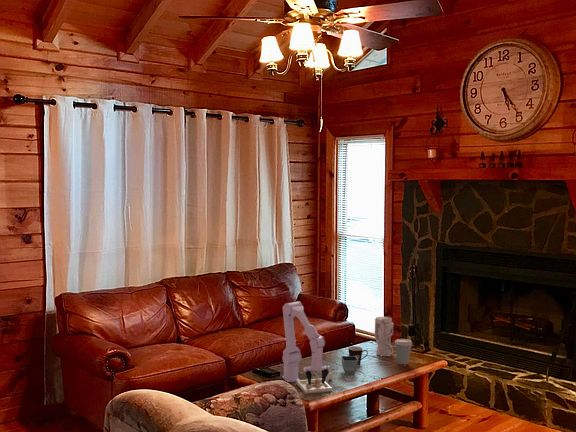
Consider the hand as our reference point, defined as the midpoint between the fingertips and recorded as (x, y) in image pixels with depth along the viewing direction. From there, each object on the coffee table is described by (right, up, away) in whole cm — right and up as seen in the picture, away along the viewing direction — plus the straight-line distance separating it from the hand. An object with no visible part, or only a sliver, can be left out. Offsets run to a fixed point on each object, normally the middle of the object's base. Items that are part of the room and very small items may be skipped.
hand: (316, 383), depth 330 cm
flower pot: (+20, -2, +28) cm, 35 cm away
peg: (+9, -2, +16) cm, 18 cm away
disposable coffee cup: (+55, -1, +48) cm, 73 cm away
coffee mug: (+27, -1, +44) cm, 52 cm away
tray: (-1, -3, +4) cm, 5 cm away
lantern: (+46, +1, +64) cm, 79 cm away
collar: (-1, -2, +2) cm, 3 cm away
